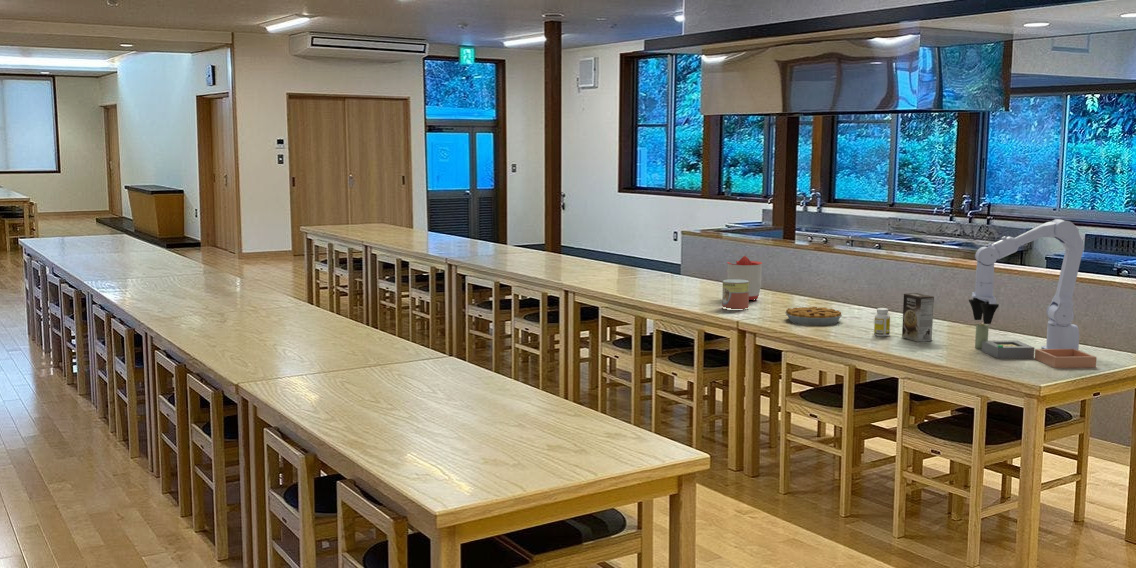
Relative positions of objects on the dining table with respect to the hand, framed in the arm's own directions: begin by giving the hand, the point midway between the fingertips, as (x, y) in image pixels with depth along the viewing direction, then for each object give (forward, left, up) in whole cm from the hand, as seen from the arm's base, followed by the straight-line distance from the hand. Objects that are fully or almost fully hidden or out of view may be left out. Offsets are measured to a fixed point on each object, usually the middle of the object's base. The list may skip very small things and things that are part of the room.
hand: (982, 321), depth 344 cm
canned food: (+68, -88, -9) cm, 112 cm away
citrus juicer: (+60, -113, -9) cm, 128 cm away
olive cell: (0, 0, -9) cm, 9 cm away
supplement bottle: (+26, -25, -9) cm, 37 cm away
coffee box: (+16, -17, -9) cm, 25 cm away
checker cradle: (-4, +11, -9) cm, 15 cm away
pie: (+43, -56, -10) cm, 71 cm away
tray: (-16, +25, -9) cm, 31 cm away
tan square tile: (-4, +11, -7) cm, 14 cm away
